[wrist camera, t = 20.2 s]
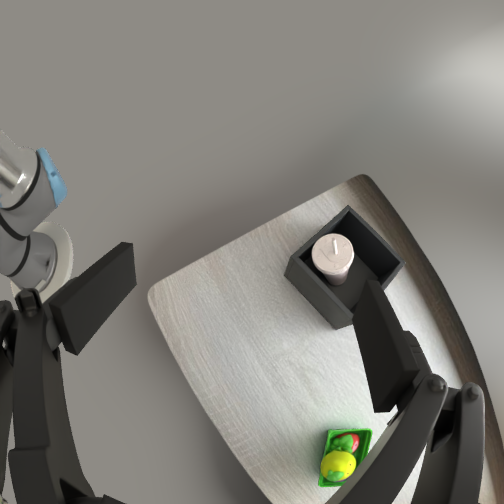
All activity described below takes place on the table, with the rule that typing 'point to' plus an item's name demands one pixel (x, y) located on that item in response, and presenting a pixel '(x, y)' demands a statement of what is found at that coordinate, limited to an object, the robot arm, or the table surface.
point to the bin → (362, 267)
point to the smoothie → (333, 257)
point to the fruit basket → (343, 455)
